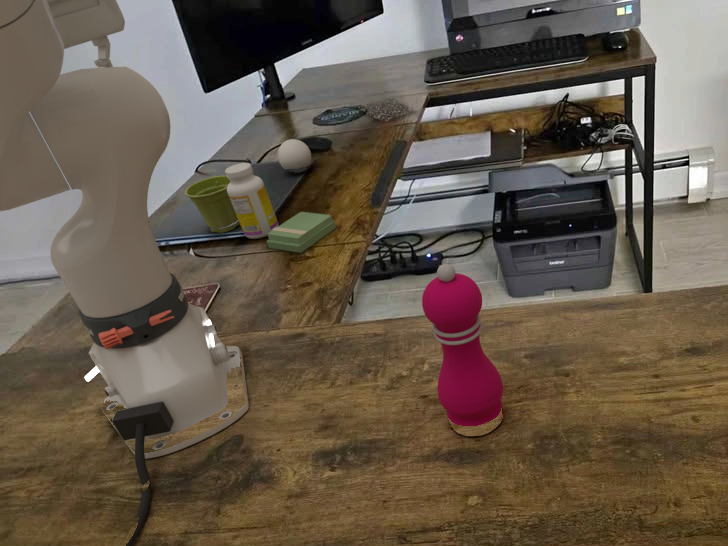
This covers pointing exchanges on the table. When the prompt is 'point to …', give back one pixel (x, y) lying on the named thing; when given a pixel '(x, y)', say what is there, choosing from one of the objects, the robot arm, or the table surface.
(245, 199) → the supplement bottle
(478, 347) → the pepper mill
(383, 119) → the rug
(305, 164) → the white rounded piece
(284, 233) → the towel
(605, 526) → the table surface
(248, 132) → the table surface
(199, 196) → the plant pot
